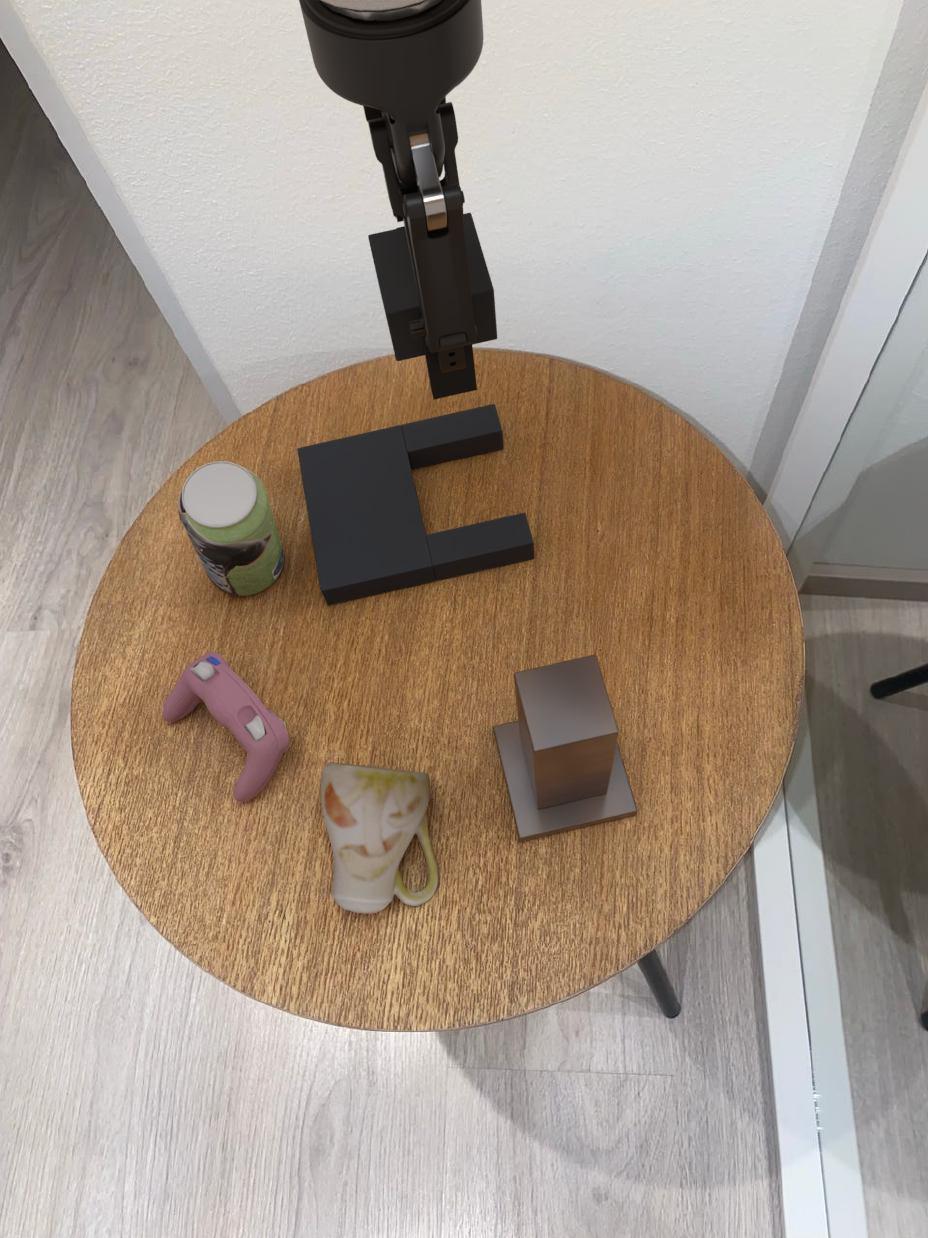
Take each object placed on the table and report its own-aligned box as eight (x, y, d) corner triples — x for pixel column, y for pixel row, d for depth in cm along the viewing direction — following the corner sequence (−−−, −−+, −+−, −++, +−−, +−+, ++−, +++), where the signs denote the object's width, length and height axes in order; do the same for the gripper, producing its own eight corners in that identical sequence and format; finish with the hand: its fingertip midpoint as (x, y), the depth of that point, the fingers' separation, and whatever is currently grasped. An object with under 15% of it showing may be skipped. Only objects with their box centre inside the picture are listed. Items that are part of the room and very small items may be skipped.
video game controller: (292, 780, 69) (305, 721, 64) (240, 813, 67) (249, 755, 62) (209, 690, 73) (215, 628, 68) (156, 718, 70) (158, 655, 65)
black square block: (475, 263, 59) (470, 211, 55) (497, 339, 56) (494, 289, 53) (379, 285, 59) (367, 234, 55) (396, 362, 56) (385, 313, 53)
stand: (604, 704, 68) (615, 621, 56) (636, 815, 65) (656, 753, 52) (493, 730, 68) (479, 653, 55) (519, 842, 65) (511, 787, 52)
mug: (313, 926, 64) (266, 822, 58) (372, 815, 71) (334, 713, 65) (417, 945, 61) (377, 837, 55) (467, 828, 68) (436, 722, 62)
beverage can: (229, 524, 77) (176, 435, 66) (314, 545, 76) (274, 458, 65) (196, 593, 75) (136, 512, 64) (284, 616, 73) (237, 538, 62)
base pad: (496, 422, 79) (494, 403, 77) (534, 558, 74) (533, 542, 71) (304, 465, 79) (296, 447, 77) (327, 605, 73) (320, 591, 71)
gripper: (267, -144, 43) (359, 250, 64) (330, 143, 35) (412, 487, 56) (431, -180, 43) (470, 225, 64) (531, 99, 35) (538, 458, 56)
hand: (443, 347), depth 60 cm, fingers closed on black square block, 6 cm apart
